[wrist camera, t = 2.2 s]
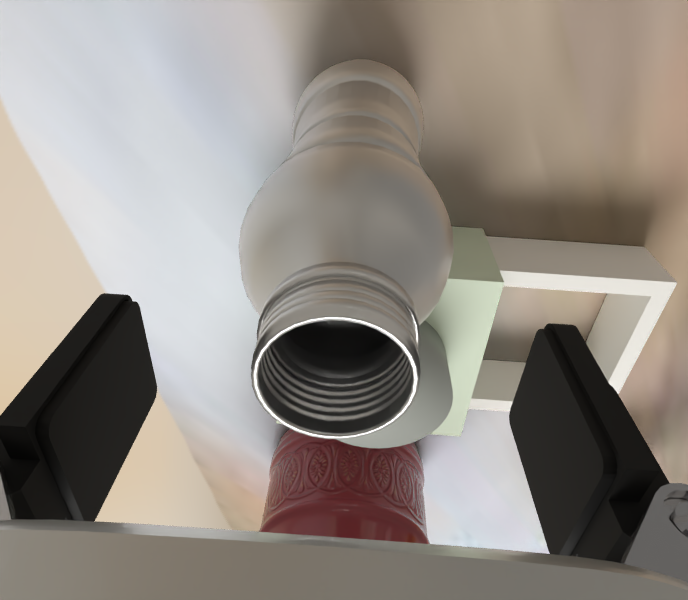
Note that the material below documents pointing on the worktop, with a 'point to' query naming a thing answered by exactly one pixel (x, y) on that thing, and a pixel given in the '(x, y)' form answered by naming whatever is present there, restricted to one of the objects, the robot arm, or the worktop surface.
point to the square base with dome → (479, 311)
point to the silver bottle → (345, 257)
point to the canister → (345, 490)
